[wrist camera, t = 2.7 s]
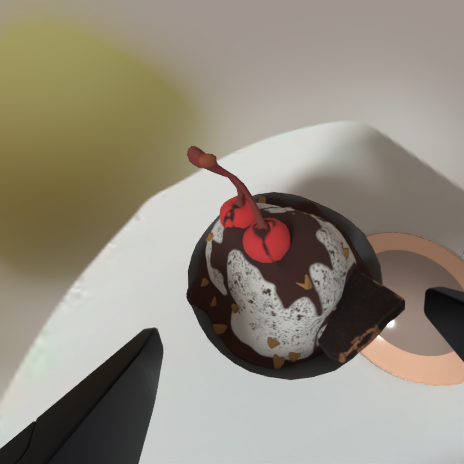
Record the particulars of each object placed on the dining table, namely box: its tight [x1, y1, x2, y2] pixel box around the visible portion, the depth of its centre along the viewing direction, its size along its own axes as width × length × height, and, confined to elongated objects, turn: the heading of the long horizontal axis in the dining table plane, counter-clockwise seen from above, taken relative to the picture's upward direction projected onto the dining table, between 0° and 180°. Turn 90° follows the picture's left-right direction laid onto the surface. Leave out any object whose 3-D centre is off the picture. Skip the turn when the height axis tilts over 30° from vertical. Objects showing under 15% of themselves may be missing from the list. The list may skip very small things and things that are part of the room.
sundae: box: [187, 146, 405, 380], centre depth 11 cm, size 7×7×15 cm
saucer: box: [360, 233, 464, 386], centre depth 16 cm, size 10×10×1 cm
